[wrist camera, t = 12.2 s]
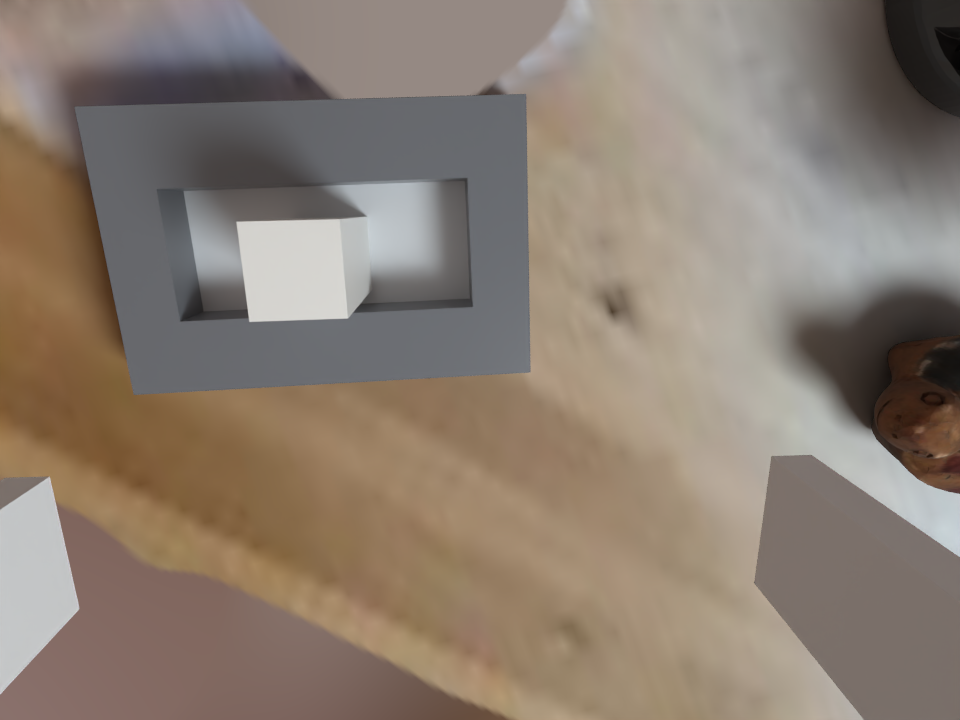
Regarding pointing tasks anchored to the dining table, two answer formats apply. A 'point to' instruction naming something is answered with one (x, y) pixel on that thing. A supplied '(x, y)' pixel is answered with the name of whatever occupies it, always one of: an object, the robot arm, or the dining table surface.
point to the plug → (305, 267)
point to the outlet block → (315, 194)
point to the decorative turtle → (923, 410)
